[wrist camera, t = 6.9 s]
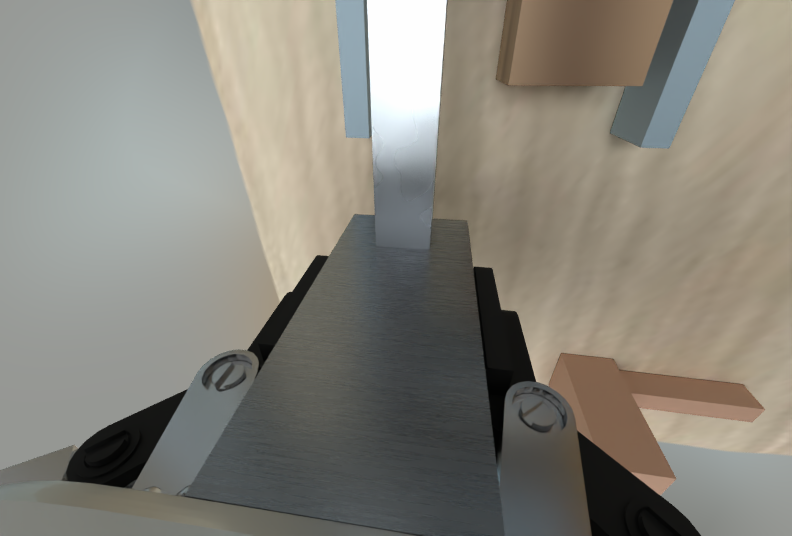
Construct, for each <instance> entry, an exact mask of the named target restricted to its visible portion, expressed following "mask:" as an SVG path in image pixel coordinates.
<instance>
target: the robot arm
mask: <svg viewBox="0 0 792 536" xmlns="http://www.w3.org/2000/svg"><path fill="white" fill-rule="evenodd" d="M328 257H329V256H321V255H317V256H316V257H315V259H314V260H313V262H312V263H311V265H310V266H309V268H308V269H307V271H306V272H305V274H304V275H303V277H302V278H301V280H300V281H299V283H298V284H297V286H296V287H295V289H294V290H293V292H289V293H287V294H286V295H285V296H284V298H283V299H282V301H281V302H280V304H279V305H278V306H277V308H276V309H275V311H274V312H273V314H272V315H271V317H270V318H269V320H268V321H267V322H266V324H265V325H264V327H263V328H262V330H261V331H260V333H259V334H258V336H257V337H256V338H255V340H254V341H253V343H252V344H251V346H250V347H249V349H248V350H232V351H227V352H224V353H221V354H219V355H217V356H215V357H214V358H212V359H210V360H209V361H208V362H207V363H205V364H204V365H203V366H202V367H201V369H200V370H199V371H198V373H197V374H196V376H195V378H194V380H193V381H192V383H191V385H190V387H189V388H188V389H187V390H185V391H183V392H181V393H178V394H176V395H174V396H172V397H170V398H167V399H165V400H163V401H161V402H159V403H157V404H154V405H152V406H150V407H148V408H146V409H144V410H141V411H139V412H137V413H135V414H133V415H131V416H129V417H126V418H124V419H122V420H120V421H118V422H115V423H113V424H112V425H109V426H107V427H106V428H104V429H102V430H100V431H98V432H97V433H96V434H94V435H93V436H92V437H90V438H89V439H88V440H86V441H85V442H84V443H83V445H82V446H81V447H80V448H79V449H78V448H77V447H76V446H75V445H72V446H69V447H66V448H63V449H61V450H58V451H55V452H52V453H49V454H46V455H43V456H40V457H37V458H34V459H31V460H28V461H26V462H23V463H20V464H17V465H14V466H11V467H8V468H5V469H2V470H0V536H416V535H410V534H404V533H398V532H392V531H386V530H380V529H374V528H369V527H363V526H357V525H351V524H345V523H339V522H333V521H327V520H321V519H315V518H309V517H303V516H297V515H291V514H285V513H279V512H273V511H267V510H261V509H255V508H249V507H242V506H236V505H230V504H224V503H218V502H212V501H205V500H199V499H193V498H187V497H185V494H186V492H187V491H188V489H189V487H190V486H191V484H192V482H193V481H194V479H195V477H196V476H197V474H198V472H199V471H200V469H201V467H202V466H203V464H204V462H205V461H206V459H207V458H208V456H209V454H210V453H211V451H212V449H213V448H214V446H215V444H216V443H217V441H218V439H219V438H220V436H221V434H222V433H223V431H224V429H225V428H226V426H227V424H228V423H229V421H230V419H231V418H232V416H233V415H234V413H235V411H236V410H237V408H238V406H239V405H240V403H241V401H242V400H243V398H244V396H245V395H246V393H247V391H248V390H249V388H250V386H251V385H252V383H253V381H254V380H255V378H256V376H257V375H258V373H259V372H260V370H261V368H262V367H263V365H264V363H265V362H266V360H267V358H268V357H269V355H270V353H271V352H272V350H273V348H274V347H275V345H276V343H277V342H278V340H279V338H280V337H281V335H282V333H283V332H284V330H285V328H286V327H287V325H288V324H289V322H290V320H291V319H292V317H293V315H294V314H295V312H296V310H297V309H298V307H299V305H300V304H301V302H302V300H303V299H304V297H305V295H306V294H307V292H308V290H309V289H310V287H311V285H312V284H313V282H314V281H315V279H316V277H317V276H318V274H319V272H320V271H321V269H322V267H323V266H324V264H325V262H326V261H327V259H328ZM473 272H474V280H475V289H476V297H477V305H478V314H479V322H480V331H481V339H482V347H483V356H484V364H485V372H486V381H487V389H488V397H489V406H490V414H491V423H492V431H493V439H494V448H495V456H496V464H497V473H498V481H499V490H500V498H501V506H502V515H503V523H504V531H505V536H701V535H700V534H699V532H698V531H697V530H696V529H695V527H694V526H693V525H692V524H691V522H690V521H689V520H688V519H687V518H686V517H685V516H684V515H683V514H682V513H681V512H679V510H678V509H676V508H675V507H674V506H673V505H672V504H670V503H669V502H668V501H666V500H665V499H664V498H663V497H661V496H660V495H659V494H658V493H656V492H655V491H654V490H653V489H651V488H650V487H649V486H647V485H646V484H645V483H644V482H642V481H641V480H640V479H639V478H637V477H636V476H635V475H633V474H632V473H631V472H630V471H628V470H627V469H626V468H625V467H623V466H622V465H621V464H619V463H618V462H617V461H616V460H614V459H613V458H612V457H610V456H609V455H608V454H607V453H605V452H604V451H603V450H602V449H600V448H599V447H598V446H596V445H595V444H594V443H593V442H591V441H590V440H589V439H588V438H586V437H585V436H584V435H582V434H581V433H580V432H579V431H577V427H576V420H575V416H574V413H573V410H572V408H571V406H570V405H569V403H568V402H567V400H566V399H565V398H564V397H563V396H561V395H560V394H559V393H558V392H557V391H555V390H554V389H552V388H550V387H549V386H546V385H544V384H541V383H538V382H536V380H535V376H534V372H533V369H532V365H531V361H530V358H529V354H528V350H527V347H526V343H525V339H524V336H523V332H522V328H521V324H520V321H519V317H518V314H517V312H515V311H506V310H501V307H500V302H499V298H498V293H497V288H496V284H495V279H494V274H493V270H492V268H485V267H474V268H473Z"/></svg>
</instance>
